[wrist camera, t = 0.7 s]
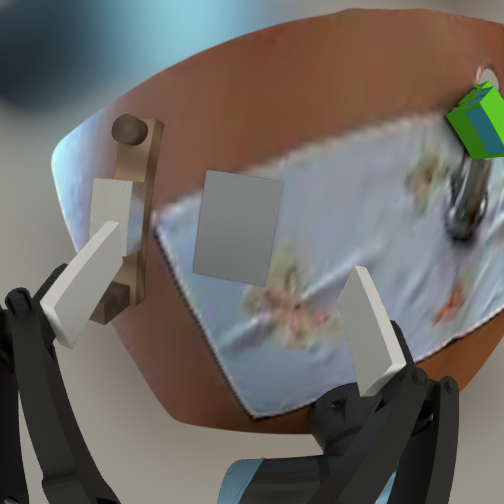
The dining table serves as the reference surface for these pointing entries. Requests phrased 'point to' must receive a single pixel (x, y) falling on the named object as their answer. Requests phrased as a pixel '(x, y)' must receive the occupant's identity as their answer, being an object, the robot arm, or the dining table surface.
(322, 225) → the dining table surface
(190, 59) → the dining table surface
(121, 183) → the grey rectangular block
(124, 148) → the plane body
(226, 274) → the grey mat
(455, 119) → the toy block
